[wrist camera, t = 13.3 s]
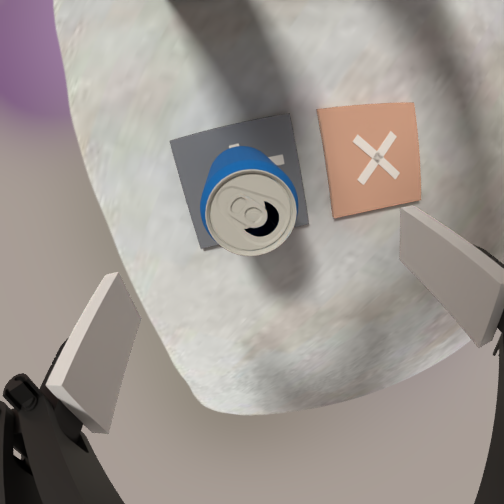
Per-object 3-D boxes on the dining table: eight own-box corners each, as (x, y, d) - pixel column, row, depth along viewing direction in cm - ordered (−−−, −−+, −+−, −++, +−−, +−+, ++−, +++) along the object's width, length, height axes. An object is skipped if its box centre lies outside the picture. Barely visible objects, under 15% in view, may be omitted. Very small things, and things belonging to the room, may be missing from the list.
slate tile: (170, 140, 27) (169, 141, 26) (288, 113, 27) (289, 113, 26) (201, 246, 32) (200, 249, 32) (307, 222, 32) (308, 224, 31)
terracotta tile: (316, 109, 27) (318, 109, 26) (411, 102, 26) (414, 102, 26) (332, 216, 32) (334, 218, 31) (418, 198, 32) (421, 200, 31)
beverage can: (249, 219, 31) (263, 278, 20) (196, 186, 29) (179, 230, 18) (286, 168, 29) (323, 201, 18) (232, 132, 27) (237, 140, 16)
